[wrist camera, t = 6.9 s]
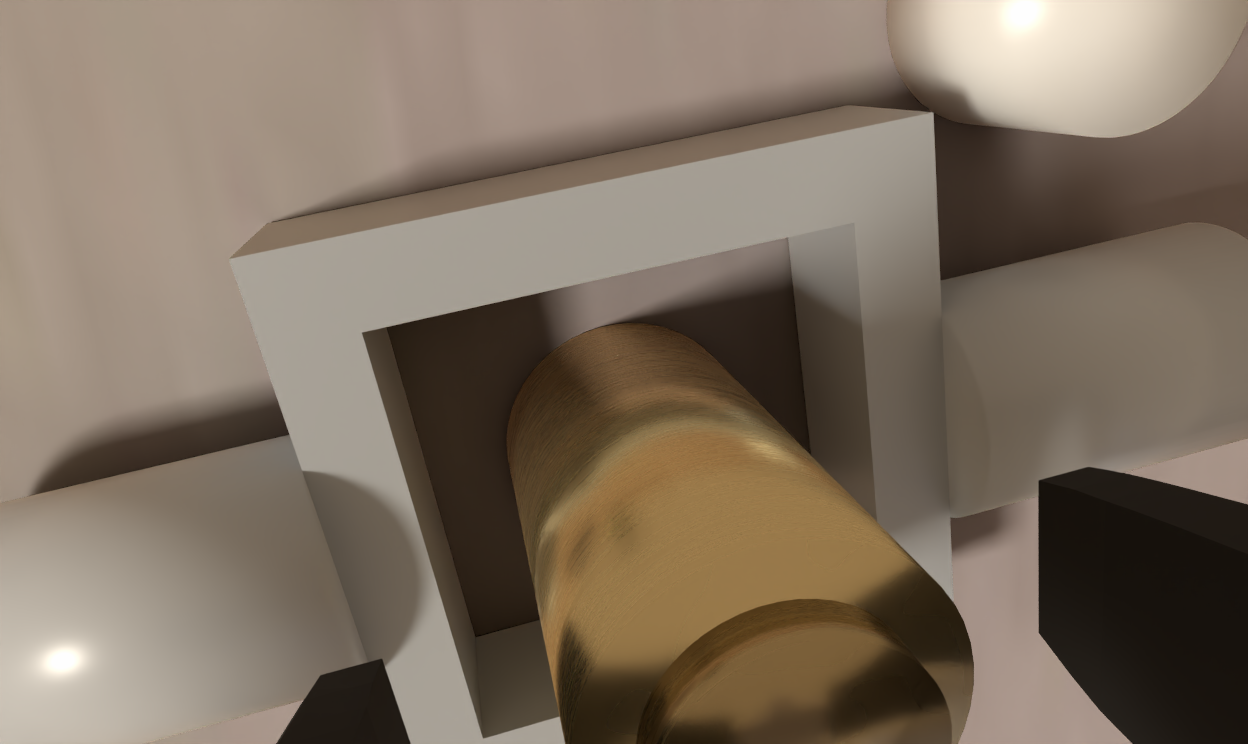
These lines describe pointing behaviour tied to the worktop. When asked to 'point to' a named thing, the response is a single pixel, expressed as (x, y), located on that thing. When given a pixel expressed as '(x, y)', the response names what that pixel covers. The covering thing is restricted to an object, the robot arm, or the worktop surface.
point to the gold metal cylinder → (714, 565)
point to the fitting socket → (551, 259)
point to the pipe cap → (1062, 59)
